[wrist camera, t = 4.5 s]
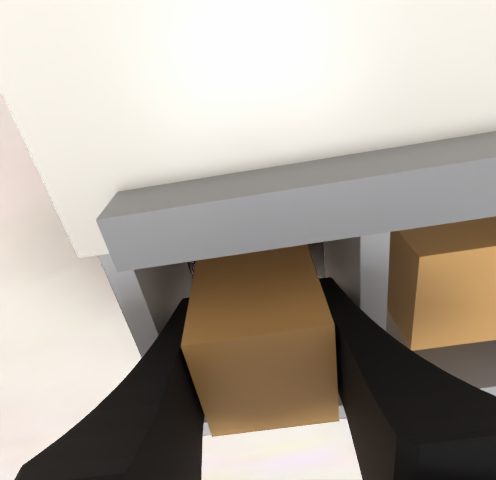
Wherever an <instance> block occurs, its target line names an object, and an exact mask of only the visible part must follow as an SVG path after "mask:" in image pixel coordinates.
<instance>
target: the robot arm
mask: <svg viewBox="0 0 496 480" xmlns="http://www.w3.org/2000/svg"><path fill="white" fill-rule="evenodd" d="M319 281H320V284H321V287H322V289H323V292H324V295H325V298H326V301H327V304H328V307H329V310H330V313H331V316H332V319H333V321H334V324H335V341H336V363H337V384H338V393H339V396H340V399H341V401H342V404H343V407H344V410H345V413H346V417H347V420H348V424H349V428H350V431H351V435H352V439H353V443H354V447H355V451H356V455H357V459H358V463H359V467H360V471H361V475H362V479H363V480H496V396H494V395H492V394H490V393H488V392H485V391H483V390H481V389H479V388H477V387H475V386H472V385H471V384H469V383H467V382H465V381H463V380H461V379H459V378H457V377H455V376H453V375H451V374H449V373H448V372H446V371H444V370H442V369H441V368H439V367H437V366H436V365H434V364H432V363H431V362H429V361H427V360H426V359H424V358H422V357H421V356H419V355H418V354H416V353H415V352H413V351H412V350H410V349H409V348H407V347H406V346H405V345H403V344H402V343H400V342H399V341H398V340H396V339H395V338H394V337H392V336H391V335H390V334H389V333H387V332H386V331H385V330H384V329H383V328H381V327H380V326H379V325H378V324H377V323H375V322H374V321H373V320H372V319H371V318H370V317H369V316H368V315H367V314H366V313H365V312H364V311H362V310H361V309H360V308H359V307H358V306H357V305H356V304H355V303H354V302H353V301H352V300H351V299H350V298H349V297H348V295H347V294H346V293H345V292H344V291H343V290H342V289H341V288H340V287H339V285H338V284H337V283H336V282H335V281H334V279H332V278H331V277H327V278H320V279H319ZM188 303H189V297H188V298H183V299H182V300H181V301H180V303H179V304H178V306H177V308H176V309H175V311H174V312H173V314H172V316H171V317H170V319H169V320H168V322H167V323H166V325H165V326H164V328H163V329H162V331H161V332H160V334H159V335H158V337H157V338H156V340H155V341H154V342H153V344H152V345H151V347H150V348H149V349H148V351H147V352H146V353H145V354H144V356H143V357H142V358H141V360H140V361H139V362H138V364H137V365H136V366H135V367H134V368H133V370H132V371H131V372H130V373H129V374H128V375H127V377H126V378H125V379H124V380H123V381H122V382H121V383H120V384H119V385H118V386H117V387H116V388H115V389H114V390H113V391H112V392H111V393H110V394H109V395H108V396H107V397H106V398H105V399H104V400H103V401H102V402H101V403H100V404H99V405H98V406H97V407H96V408H95V409H94V410H93V411H91V412H90V413H89V414H88V415H87V416H86V417H85V418H83V419H82V420H81V421H80V422H79V423H78V424H76V425H75V426H74V427H73V428H72V429H70V430H69V431H68V432H67V433H66V434H64V435H63V436H62V437H61V438H59V439H58V440H57V441H55V442H54V443H53V444H51V445H50V446H49V447H47V448H46V449H45V450H43V451H42V452H41V453H39V454H38V455H36V456H35V457H34V458H32V459H31V460H30V461H28V462H27V463H25V464H24V465H23V466H22V467H21V469H20V471H19V472H18V474H17V476H16V478H15V480H201V465H202V436H203V425H204V417H205V415H204V412H203V409H202V406H201V403H200V400H199V397H198V394H197V392H196V389H195V386H194V383H193V380H192V377H191V374H190V371H189V368H188V365H187V362H186V360H185V357H184V354H183V351H182V348H181V342H182V337H183V331H184V325H185V320H186V314H187V309H188Z"/></svg>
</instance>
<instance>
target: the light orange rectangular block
mask: <svg viewBox="0 0 496 480" xmlns="http://www.w3.org/2000/svg"><path fill="white" fill-rule="evenodd" d="M181 348H182V351H183V354H184V357H185V360H186V362H187V365H188V368H189V371H190V374H191V377H192V380H193V383H194V386H195V389H196V392H197V394H198V397H199V400H200V403H201V406H202V409H203V412H204V415H205V418H206V421H207V423H208V426H209V429H210V432H211V435H212V437H213V436H221V435H230V434H238V433H246V432H254V431H262V430H270V429H279V428H287V427H295V426H303V425H311V424H319V423H327V422H336V421H339V405H338V384H337V363H336V341H335V324H334V321H333V319H332V316H331V313H330V310H329V307H328V304H327V301H326V298H325V295H324V292H323V289H322V287H321V284H320V281H319V278H318V275H317V272H316V269H315V266H314V263H313V260H312V257H311V255H310V252H309V249H308V246H307V244H305V245H298V246H292V247H285V248H278V249H271V250H265V251H258V252H251V253H244V254H238V255H231V256H224V257H217V258H211V259H204V260H197V261H196V264H195V269H194V275H193V281H192V286H191V292H190V297H189V303H188V309H187V314H186V320H185V325H184V331H183V337H182V342H181Z"/></svg>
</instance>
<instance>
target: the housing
mask: <svg viewBox="0 0 496 480" xmlns="http://www.w3.org/2000/svg"><path fill="white" fill-rule="evenodd" d="M323 245H324V262H325V278H327V277H331V278H332V279H334V281H335V282H336V283H337V284H338V285H339V287H340V288H341V289H342V290H343V291H344V292H345V293H346V294H347V295H348V297H349V298H350V299H351V300H352V301H353V302H354V303H355V304H356V305H357V306H358V307H359V308H360V309H361V310H362V311H364V312H365V313H366V314H367V315H368V316H369V317H370V318H371V319H372V320H373V321H374V322H375V323H377V324H378V325H379V326H380V327H381V328H383V329H384V330H385V331H386V332H387V333H389V334H390V335H391V336H392V337H394V338H395V339H396V340H398V341H399V342H400V343H402V344H403V345H405V346H406V347H407V348H409V349H410V350H412V351H413V352H415V353H416V354H418V355H419V356H421V357H422V358H424V359H426V360H427V361H429V362H431V363H432V364H434V365H436V366H437V367H439V368H441V369H442V370H444V371H446V372H448V373H449V374H451V375H453V376H455V377H457V378H459V379H461V380H463V381H465V382H467V383H469V384H471V385H472V386H475V387H477V388H479V389H481V390H483V391H485V392H488V393H490V394H492V395H494V396H496V216H494V217H488V218H481V219H474V220H467V221H461V222H454V223H447V224H440V225H434V226H427V227H420V228H413V229H407V230H400V231H393V232H386V233H379V234H373V235H366V236H359V237H352V238H346V239H339V240H332V241H325V242H323ZM98 257H99V259H100V261H101V264H102V266H103V268H104V271H105V273H106V275H107V278H108V280H109V282H110V285H111V287H112V289H113V292H114V294H115V296H116V299H117V301H118V303H119V306H120V308H121V310H122V313H123V315H124V317H125V320H126V322H127V324H128V327H129V329H130V331H131V334H132V336H133V338H134V341H135V343H136V345H137V348H138V350H139V352H140V355H141V357H143V356H144V354H145V353H146V352H147V351H148V349H149V348H150V347H151V345H152V344H153V342H154V341H155V340H156V338H157V337H158V335H159V334H160V332H161V331H162V329H163V328H164V326H165V325H166V323H167V322H168V320H169V319H170V317H171V316H172V314H173V312H174V311H175V309H176V308H177V306H178V304H179V303H180V301H181V300H182V299H183V298H188V297H190V292H191V286H192V278H191V274H190V271H189V267H188V264H187V262H183V263H177V264H170V265H163V266H156V267H150V268H143V269H136V270H129V271H123V272H117V271H116V268H115V266H114V263H113V261H112V258H111V256H110V254H103V255H98ZM338 405H339V419H346V418H347V417H346V413H345V410H344V407H343V404H342V401H341V399H340V396H339V393H338ZM206 435H211V432H210V429H209V426H208V423H207V421H206V418H205V417H204V425H203V436H206Z"/></svg>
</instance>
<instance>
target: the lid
mask: <svg viewBox="0 0 496 480" xmlns="http://www.w3.org/2000/svg"><path fill="white" fill-rule="evenodd" d="M0 91H1V93H2V95H3V97H4V100H5V102H6V104H7V106H8V108H9V110H10V112H11V115H12V117H13V119H14V121H15V123H16V125H17V128H18V130H19V132H20V134H21V136H22V138H23V140H24V143H25V145H26V147H27V149H28V151H29V153H30V156H31V158H32V160H33V162H34V164H35V166H36V168H37V171H38V173H39V175H40V177H41V179H42V181H43V184H44V186H45V188H46V190H47V192H48V194H49V196H50V199H51V201H52V203H53V205H54V207H55V209H56V212H57V214H58V216H59V218H60V220H61V222H62V224H63V227H64V229H65V231H66V233H67V235H68V237H69V240H70V242H71V244H72V246H73V248H74V250H75V252H76V255H77V257H78V258H84V257H90V256H97V255H103V254H110V256H111V258H112V261H113V263H114V266H115V268H116V271H117V272H123V271H129V270H136V269H143V268H150V267H156V266H163V265H170V264H177V263H183V262H190V261H197V260H204V259H211V258H217V257H224V256H231V255H238V254H244V253H251V252H258V251H265V250H271V249H278V248H285V247H292V246H298V245H305V244H312V243H319V242H325V241H332V240H339V239H346V238H352V237H359V236H366V235H373V234H379V233H386V232H393V231H400V230H407V229H413V228H420V227H427V226H434V225H440V224H447V223H454V222H461V221H467V220H474V219H481V218H488V217H494V216H496V0H0Z"/></svg>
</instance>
